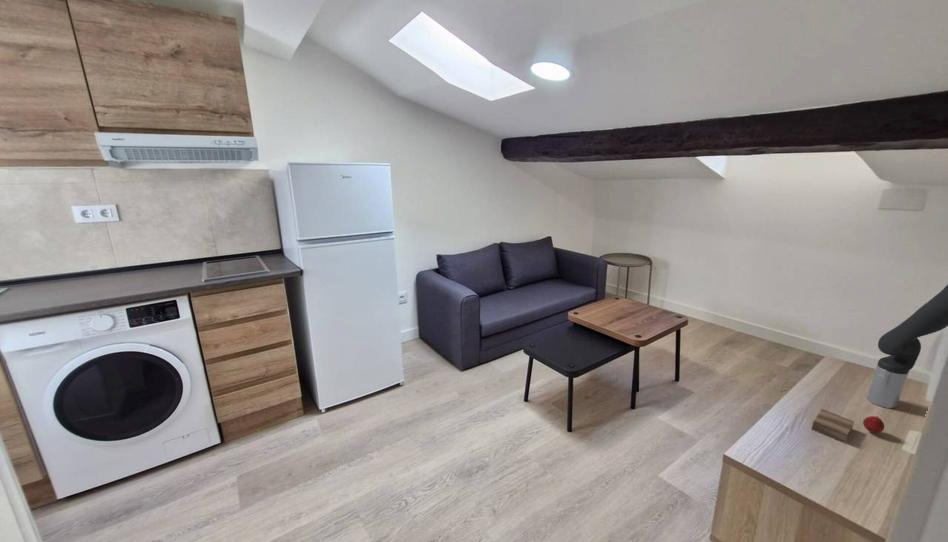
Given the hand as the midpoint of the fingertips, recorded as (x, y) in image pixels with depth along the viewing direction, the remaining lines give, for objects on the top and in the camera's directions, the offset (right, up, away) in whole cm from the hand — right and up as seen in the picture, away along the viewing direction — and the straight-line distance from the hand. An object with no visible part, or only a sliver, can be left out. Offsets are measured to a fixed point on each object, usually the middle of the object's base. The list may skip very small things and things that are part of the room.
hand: (935, 395), depth 134 cm
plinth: (-20, -20, +18) cm, 34 cm away
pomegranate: (-6, -21, +16) cm, 27 cm away
